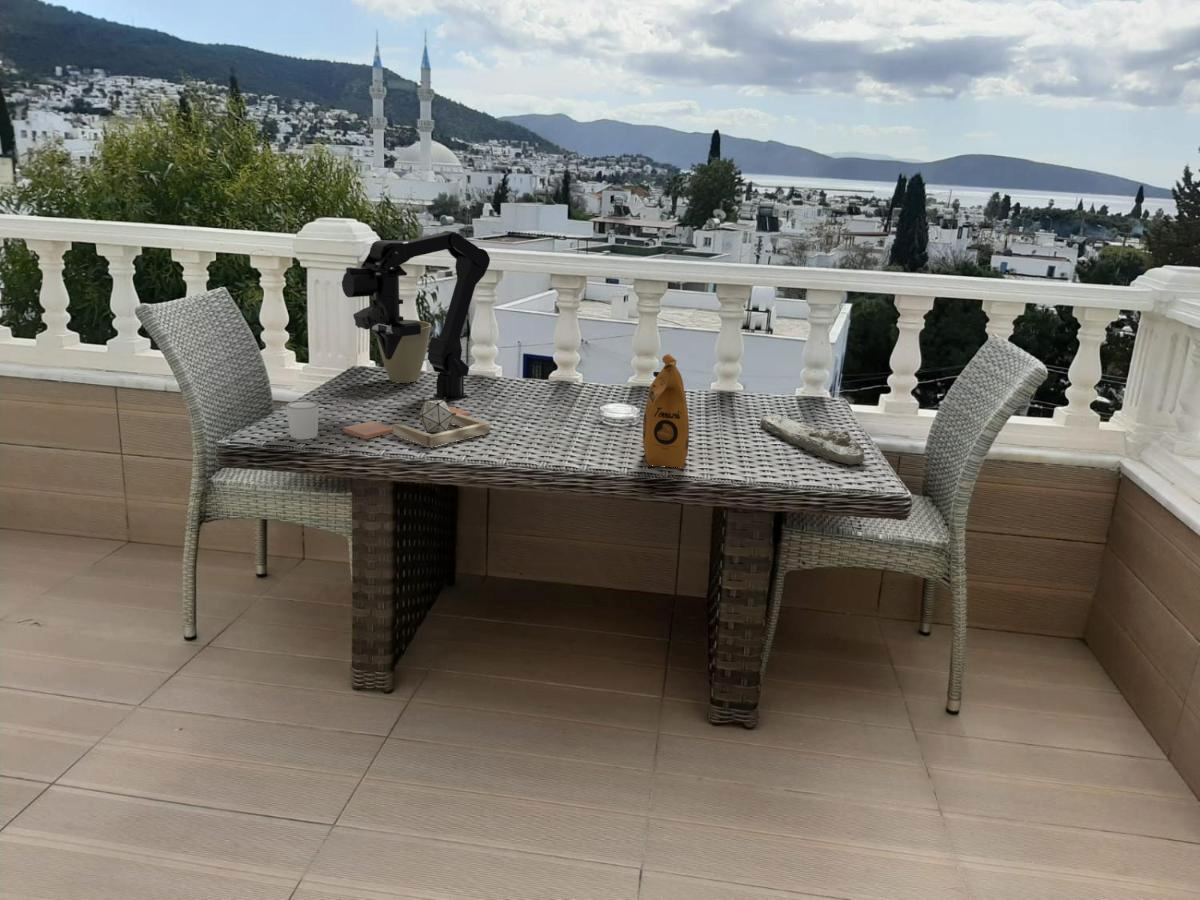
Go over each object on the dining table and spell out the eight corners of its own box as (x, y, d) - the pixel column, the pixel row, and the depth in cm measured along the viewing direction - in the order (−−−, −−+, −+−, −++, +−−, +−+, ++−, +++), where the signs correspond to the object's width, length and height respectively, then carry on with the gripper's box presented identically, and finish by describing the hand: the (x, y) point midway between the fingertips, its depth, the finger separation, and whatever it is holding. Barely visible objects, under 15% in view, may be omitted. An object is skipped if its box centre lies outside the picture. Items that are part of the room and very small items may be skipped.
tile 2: (446, 409, 222) (446, 405, 222) (468, 416, 217) (468, 412, 217) (421, 414, 216) (421, 411, 216) (443, 421, 212) (443, 417, 211)
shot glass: (327, 433, 198) (325, 403, 196) (307, 441, 192) (305, 410, 190) (300, 429, 200) (299, 399, 198) (280, 437, 194) (278, 406, 192)
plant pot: (367, 384, 243) (365, 326, 239) (389, 373, 257) (387, 317, 253) (420, 389, 241) (419, 330, 236) (438, 377, 255) (438, 321, 250)
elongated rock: (782, 428, 226) (749, 433, 222) (782, 408, 224) (749, 413, 220) (877, 463, 195) (841, 470, 191) (879, 440, 194) (842, 446, 190)
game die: (441, 450, 203) (447, 424, 195) (407, 434, 203) (411, 407, 195) (458, 423, 208) (464, 396, 201) (425, 408, 208) (430, 380, 201)
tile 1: (373, 425, 206) (373, 421, 206) (394, 432, 201) (394, 428, 201) (343, 431, 200) (343, 427, 200) (365, 439, 195) (364, 435, 195)
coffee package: (639, 467, 186) (645, 363, 179) (641, 450, 198) (648, 351, 191) (687, 471, 185) (695, 366, 178) (687, 453, 197) (694, 354, 190)
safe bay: (452, 422, 212) (452, 411, 211) (489, 433, 204) (490, 423, 203) (393, 435, 199) (393, 424, 199) (431, 448, 191) (431, 437, 191)
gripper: (335, 292, 214) (337, 357, 218) (383, 302, 203) (384, 370, 207) (374, 289, 222) (375, 351, 227) (422, 298, 211) (423, 364, 215)
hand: (388, 359), depth 219 cm, fingers closed
